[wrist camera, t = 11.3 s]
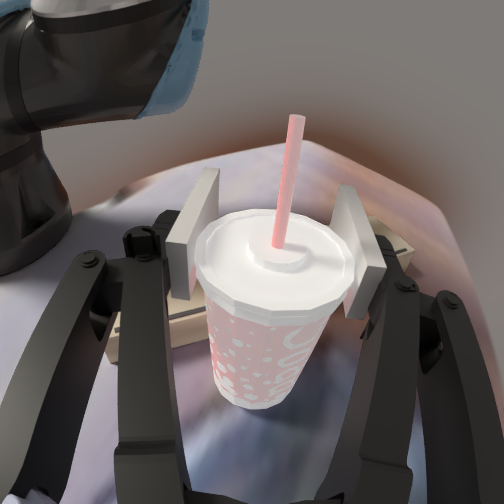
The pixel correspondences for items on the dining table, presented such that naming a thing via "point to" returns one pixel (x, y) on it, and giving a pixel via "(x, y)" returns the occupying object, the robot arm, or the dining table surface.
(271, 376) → the beverage cup
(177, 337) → the maple strip
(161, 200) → the dining table surface
